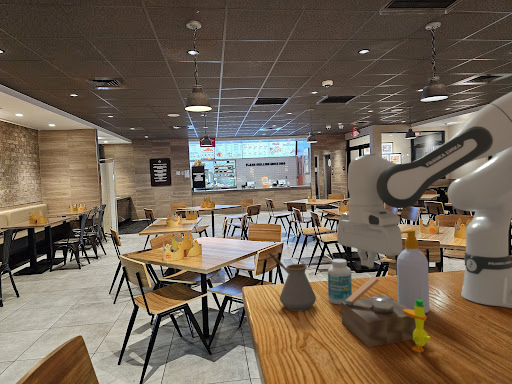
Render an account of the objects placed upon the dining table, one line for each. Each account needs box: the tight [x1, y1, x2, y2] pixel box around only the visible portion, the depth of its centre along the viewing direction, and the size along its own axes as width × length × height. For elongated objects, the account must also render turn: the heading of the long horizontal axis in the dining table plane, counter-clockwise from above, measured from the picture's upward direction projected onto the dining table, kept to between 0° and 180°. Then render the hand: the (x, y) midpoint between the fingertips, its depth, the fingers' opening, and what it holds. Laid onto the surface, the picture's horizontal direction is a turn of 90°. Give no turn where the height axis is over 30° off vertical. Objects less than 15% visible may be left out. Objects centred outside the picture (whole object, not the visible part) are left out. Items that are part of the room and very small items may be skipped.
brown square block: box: [340, 297, 416, 347], centre depth 90 cm, size 14×14×6 cm
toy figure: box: [403, 299, 431, 354], centre depth 79 cm, size 7×4×12 cm, turn 32°
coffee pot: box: [266, 252, 317, 312], centre depth 113 cm, size 21×12×15 cm, turn 32°
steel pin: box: [371, 295, 394, 315], centre depth 88 cm, size 5×5×8 cm
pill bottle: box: [327, 258, 353, 306], centre depth 111 cm, size 8×7×14 cm
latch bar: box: [344, 276, 380, 306], centre depth 93 cm, size 11×3×1 cm
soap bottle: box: [396, 229, 430, 314], centre depth 102 cm, size 9×9×24 cm
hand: (367, 266), depth 93 cm, fingers closed
